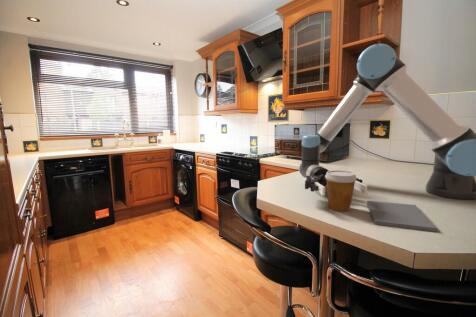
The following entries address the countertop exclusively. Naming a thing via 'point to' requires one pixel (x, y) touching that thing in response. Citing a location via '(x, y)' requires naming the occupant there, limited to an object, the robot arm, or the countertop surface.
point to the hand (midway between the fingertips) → (345, 190)
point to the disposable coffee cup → (340, 189)
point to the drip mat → (399, 216)
